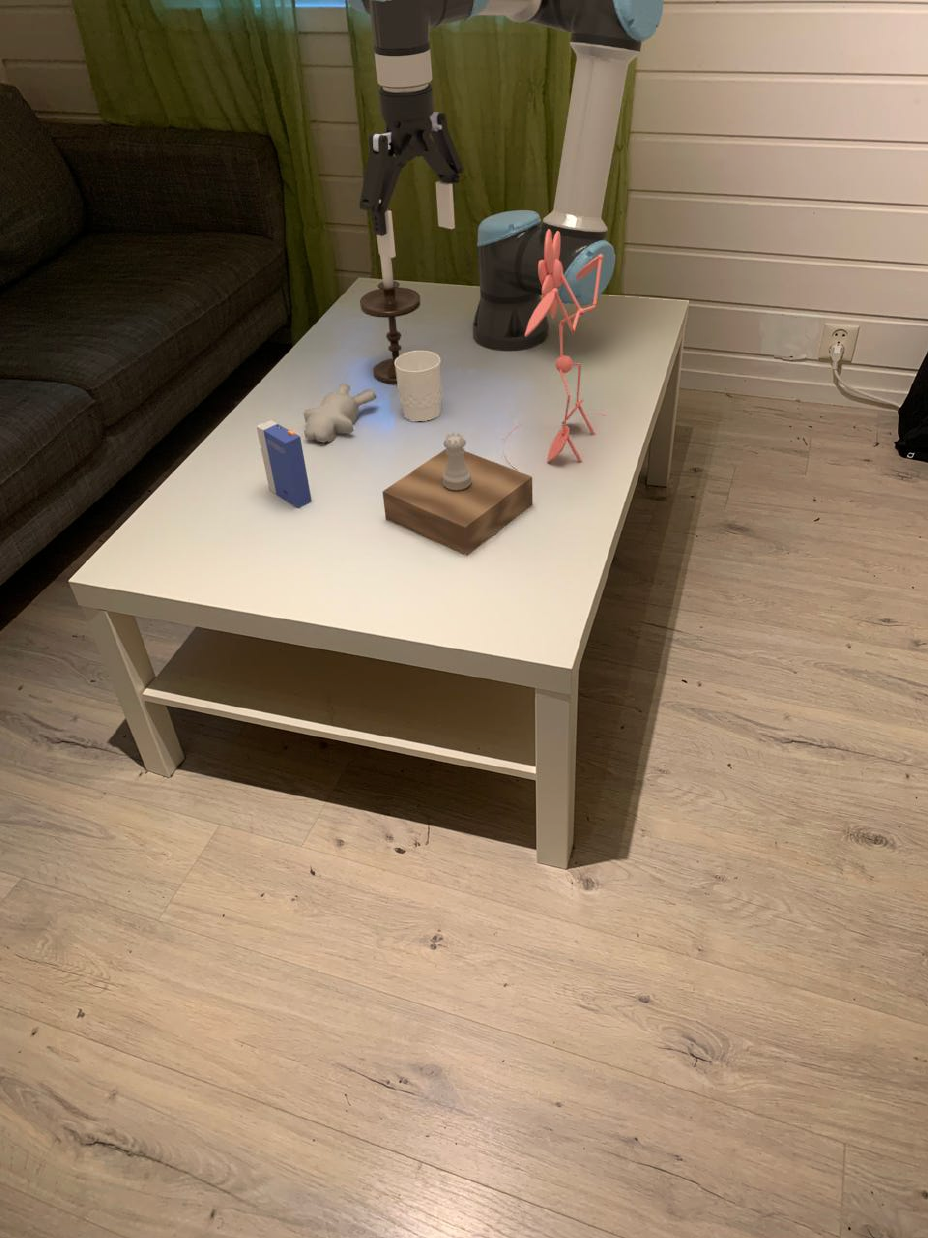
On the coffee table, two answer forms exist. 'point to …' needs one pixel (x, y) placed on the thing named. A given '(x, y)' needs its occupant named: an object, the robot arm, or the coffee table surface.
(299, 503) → the walkman
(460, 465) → the rook chess piece
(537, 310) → the figurine
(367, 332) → the coffee table surface
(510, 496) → the walnut base
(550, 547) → the coffee table surface
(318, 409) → the bunny figurine
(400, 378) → the white cup
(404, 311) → the candlestick
